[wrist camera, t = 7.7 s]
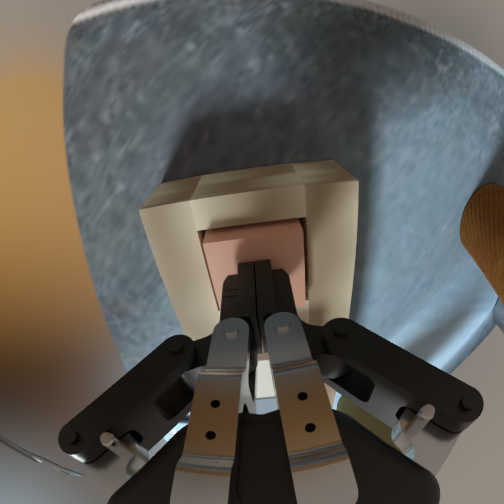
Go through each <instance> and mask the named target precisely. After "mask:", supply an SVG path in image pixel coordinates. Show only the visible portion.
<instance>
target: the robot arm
mask: <svg viewBox="0 0 504 504" xmlns="http://www.w3.org/2000/svg"><path fill="white" fill-rule="evenodd" d="M493 319H494V321H495V322H496V324H497V325H498V327H499V328H500V329H501V331H502V332H503V334H504V305H503V303H502V302H501V300H500V298H499V299H498V301H497V304H496V306H495V309H494V313H493ZM262 342H263V348H264V353H268V357H269V363H270V370H271V375H272V381H273V386H274V392H275V397H276V403H277V409H278V410H275V411H272V412H269V413H265V414H257V413H256V396H257V375H258V368H257V365H258V356H257V354H262V353H263V349H262ZM324 383H326V384H327V385H328V386H330V387H331V388H333V389H334V390H335V391H337V392H338V393H340V394H341V395H343V396H344V397H346V398H347V399H348V400H350V401H351V402H353V403H354V404H356V405H357V406H359V407H360V408H362V409H363V410H365V411H366V412H368V413H369V414H371V415H372V416H374V417H375V418H377V419H379V420H380V421H382V422H383V423H385V424H386V425H388V426H389V427H391V428H393V429H392V434H391V435H392V440H393V442H394V444H395V445H396V446H397V447H398V448H400V450H401V451H402V453H401V452H400V451H398V450H397V449H395V448H394V447H393V446H391V445H390V444H388V443H387V442H385V441H384V440H383V439H381V438H380V437H378V436H377V435H375V434H374V433H373V432H371V431H370V430H369V429H367V428H366V427H364V426H363V425H362V424H360V423H359V422H358V421H356V420H355V419H354V418H352V417H351V416H349V415H347V414H345V413H343V412H340V411H338V410H334V409H332V407H331V404H330V401H329V397H328V394H327V391H326V388H325V385H324ZM483 405H484V404H483V398H482V396H481V394H480V393H479V391H478V390H476V389H475V388H473V387H471V386H469V385H468V384H466V383H464V382H462V381H460V380H458V379H457V378H455V377H453V376H451V375H449V374H448V373H446V372H444V371H442V370H440V369H438V368H437V367H435V366H433V365H431V364H429V363H428V362H426V361H424V360H422V359H420V358H418V357H417V356H415V355H413V354H411V353H409V352H408V351H406V350H404V349H402V348H400V347H399V346H397V345H395V344H393V343H391V342H390V341H388V340H386V339H384V338H382V337H381V336H379V335H377V334H375V333H374V332H372V331H370V330H368V329H366V328H365V327H363V326H361V325H359V324H358V323H356V322H354V321H352V320H350V319H347V318H334V319H331V320H330V321H328V322H327V323H326V324H325V325H324V326H317V325H311V324H308V323H306V322H304V321H302V320H301V319H300V318H299V316H298V314H297V310H296V306H295V301H294V296H293V291H292V287H291V282H290V278H289V274H288V273H287V272H286V271H285V270H284V269H283V268H282V269H275V270H272V268H271V261H270V259H268V260H260V261H255V266H254V261H252V262H244V263H238V274H234V275H228V276H227V277H226V279H225V280H224V282H223V288H222V299H221V310H220V322H219V323H218V324H217V325H216V326H215V327H214V330H213V333H212V334H210V335H208V336H206V337H204V338H201V339H198V340H195V341H193V340H192V339H191V338H190V337H188V336H186V335H175V336H172V337H170V338H168V339H166V340H165V341H164V342H163V343H162V344H160V345H159V346H158V347H157V348H156V349H155V350H153V351H152V352H151V353H150V354H149V355H148V356H146V357H145V358H144V359H143V360H142V361H141V362H139V363H138V364H137V365H136V366H135V367H133V368H132V369H131V370H130V371H129V372H128V373H126V374H125V375H124V376H123V377H122V378H121V379H119V380H118V381H117V382H116V383H115V384H114V385H112V386H111V387H110V388H109V389H108V390H106V391H105V392H104V393H103V394H102V395H100V396H99V397H98V398H97V399H96V400H94V401H93V402H92V403H91V404H90V405H88V406H87V407H86V408H85V409H84V410H82V411H81V412H80V413H79V414H78V415H77V416H75V417H74V418H73V419H72V420H70V421H69V422H68V423H67V424H66V425H64V427H62V429H61V430H60V433H59V437H58V442H59V446H60V448H61V449H62V450H63V451H64V452H65V453H67V454H68V455H70V456H71V457H73V458H75V459H76V460H77V461H78V462H80V463H82V464H83V465H84V466H85V468H86V469H87V470H88V472H89V473H90V475H91V476H92V477H93V479H94V480H95V481H96V483H97V484H98V485H99V486H100V488H101V489H102V490H103V491H104V493H105V494H106V495H107V496H108V498H109V501H108V503H107V504H439V501H440V488H439V484H438V481H437V479H436V478H435V476H436V474H437V472H438V471H439V469H440V468H441V466H442V465H443V463H444V461H445V460H446V458H447V457H448V455H449V453H450V451H451V450H452V448H453V446H454V444H455V443H456V441H457V439H458V437H459V435H460V434H461V433H462V432H463V431H464V430H465V429H466V428H467V427H468V426H470V425H471V424H472V423H473V422H474V421H475V420H476V419H477V418H478V417H479V416H480V414H481V412H482V410H483ZM190 411H191V412H190ZM189 412H190V417H189V422H188V425H186V426H184V427H183V428H182V429H180V430H179V431H178V432H177V433H176V434H175V435H174V436H173V437H172V438H171V439H170V440H169V441H168V442H167V443H166V444H165V445H164V446H163V447H162V448H161V449H160V450H159V451H158V452H157V453H156V454H155V455H154V456H153V457H152V458H151V459H150V460H149V461H148V459H149V457H148V456H149V455H148V451H149V450H150V449H151V448H152V447H153V446H154V445H156V444H157V443H158V442H159V441H160V440H161V439H162V438H163V437H164V436H165V435H166V434H167V433H168V432H169V431H171V430H172V429H173V428H174V427H175V426H176V425H177V424H178V423H179V422H180V421H181V420H182V419H183V418H184V417H185V416H186V415H187V414H188V413H189Z"/></svg>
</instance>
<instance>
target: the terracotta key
mask: <svg viewBox="0 0 504 504" xmlns="http://www.w3.org/2000/svg"><path fill="white" fill-rule="evenodd" d="M203 248H204V252H205V255H206V259H207V263H208V267H209V271H210V275H211V278H212V282H213V286H214V290H215V293H216V297H217V301H218V304H219V308H220V310H221V299H222V288H223V282H224V280H225V279H226V277H227V276H228V275H234V274H238V263H244V262H252V261H254V266H255V261H260V260H268V259H270V261H271V268H272V270H275V269H282V268H283V269H284V270H285V271H286V272H287V273H288V274H289V278H290V282H291V287H292V291H293V296H294V301H295V306H296V307H303V306H305V263H304V237H303V229H302V227H301V224H300V222H299V219H298V218H291V219H283V220H275V221H267V222H259V223H251V224H243V225H235V226H228V227H220V228H213V229H206V232H205V236H204V240H203Z"/></svg>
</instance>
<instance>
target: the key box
mask: <svg viewBox="0 0 504 504" xmlns="http://www.w3.org/2000/svg"><path fill="white" fill-rule="evenodd" d="M358 194H359V181H358V180H357V179H356V178H355V177H354V176H352V175H351V174H350V173H349V172H348V171H347V170H345V169H344V168H343V167H342V166H340V165H339V164H338V163H337V162H336V161H334V160H324V161H311V162H300V163H289V164H280V165H271V166H262V167H254V168H247V169H239V170H232V171H226V172H219V173H213V174H207V175H201V176H195V177H189V178H184V179H178V180H173V181H168V182H163V183H161V184H160V185H159V186H158V187H157V188H156V190H155V191H154V192H153V193H152V194H151V196H150V197H149V198H148V199H147V200H146V202H145V203H144V204H143V205H142V206H141V208H140V209H139V212H140V216H141V219H142V222H143V225H144V228H145V231H146V234H147V237H148V240H149V243H150V246H151V249H152V252H153V255H154V258H155V261H156V263H157V266H158V269H159V272H160V274H161V277H162V280H163V282H164V285H165V288H166V290H167V293H168V295H169V298H170V301H171V303H172V305H173V308H174V310H175V313H176V315H177V318H178V320H179V322H180V325H181V327H182V330H183V332H184V334H185V335H186V336H188V337H190V338H191V339H192V340H193V341H195V340H198V339H201V338H204V337H206V336H208V335H210V334H212V333H213V330H214V327H215V326H216V325H217V324H218V323H219V322H220V308H219V304H218V301H217V297H216V293H215V290H214V286H213V282H212V278H211V275H210V271H209V267H208V263H207V259H206V255H205V252H204V248H203V240H204V236H205V232H206V229H213V228H220V227H228V226H235V225H243V224H251V223H259V222H267V221H275V220H283V219H291V218H298V219H299V222H300V224H301V227H302V229H303V237H304V263H305V306H303V307H296V310H297V314H298V316H299V318H300V319H301V320H302V321H304V322H306V323H308V324H311V325H317V326H324V325H325V324H326V323H327V322H328V321H330V320H331V319H334V318H347V319H349V312H350V304H351V296H352V287H353V278H354V267H355V255H356V241H357V224H358ZM324 385H325V388H326V391H327V394H328V397H329V401H330V404H331V407H332V406H333V402H334V397H335V393H336V391H335V390H334V389H333V388H331V387H330V386H328V385H327V384H326V383H324Z"/></svg>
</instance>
